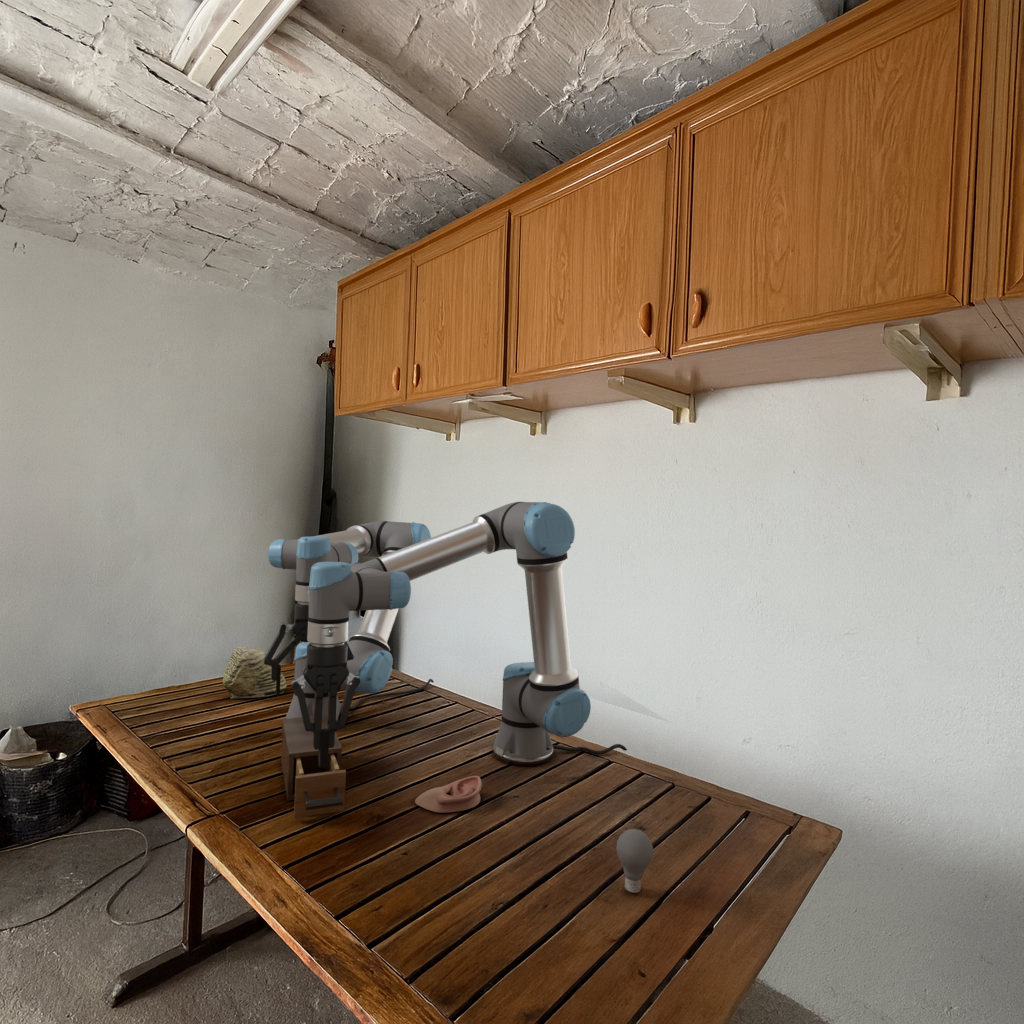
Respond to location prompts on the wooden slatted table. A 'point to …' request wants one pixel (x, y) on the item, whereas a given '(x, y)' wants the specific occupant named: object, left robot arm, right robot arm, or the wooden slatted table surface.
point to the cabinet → (300, 748)
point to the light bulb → (634, 857)
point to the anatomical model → (452, 796)
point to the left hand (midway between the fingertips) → (308, 691)
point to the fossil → (250, 675)
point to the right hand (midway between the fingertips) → (323, 764)
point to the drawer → (318, 786)
